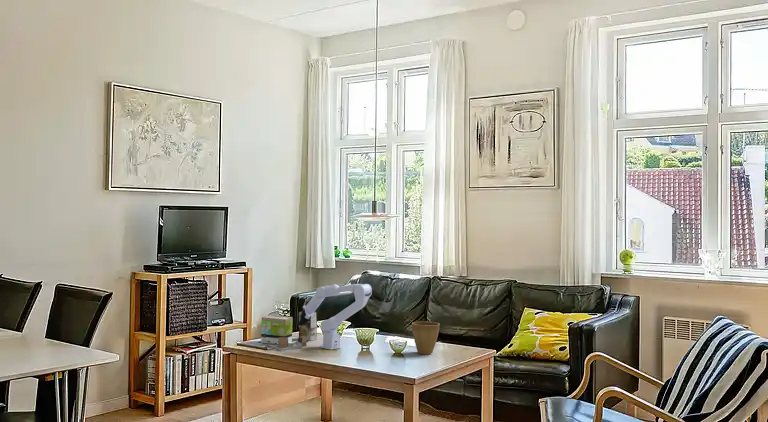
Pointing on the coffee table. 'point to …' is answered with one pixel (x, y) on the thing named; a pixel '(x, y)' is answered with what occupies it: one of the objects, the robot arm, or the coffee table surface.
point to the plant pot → (425, 336)
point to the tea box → (276, 328)
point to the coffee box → (309, 327)
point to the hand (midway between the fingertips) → (300, 321)
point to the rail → (290, 346)
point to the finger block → (303, 340)
